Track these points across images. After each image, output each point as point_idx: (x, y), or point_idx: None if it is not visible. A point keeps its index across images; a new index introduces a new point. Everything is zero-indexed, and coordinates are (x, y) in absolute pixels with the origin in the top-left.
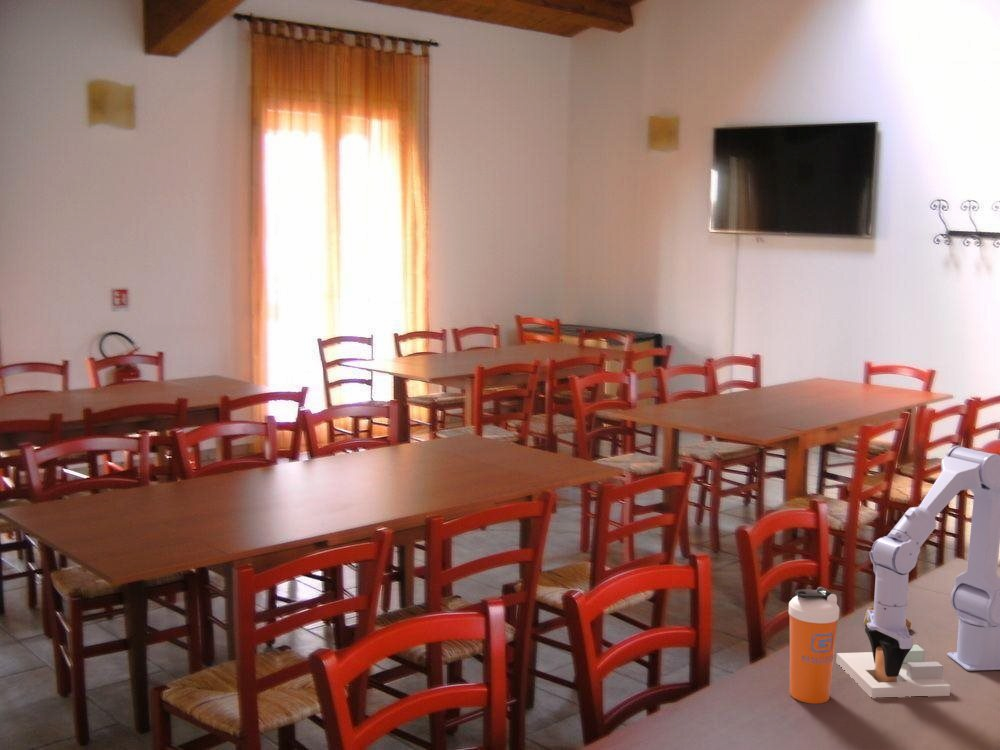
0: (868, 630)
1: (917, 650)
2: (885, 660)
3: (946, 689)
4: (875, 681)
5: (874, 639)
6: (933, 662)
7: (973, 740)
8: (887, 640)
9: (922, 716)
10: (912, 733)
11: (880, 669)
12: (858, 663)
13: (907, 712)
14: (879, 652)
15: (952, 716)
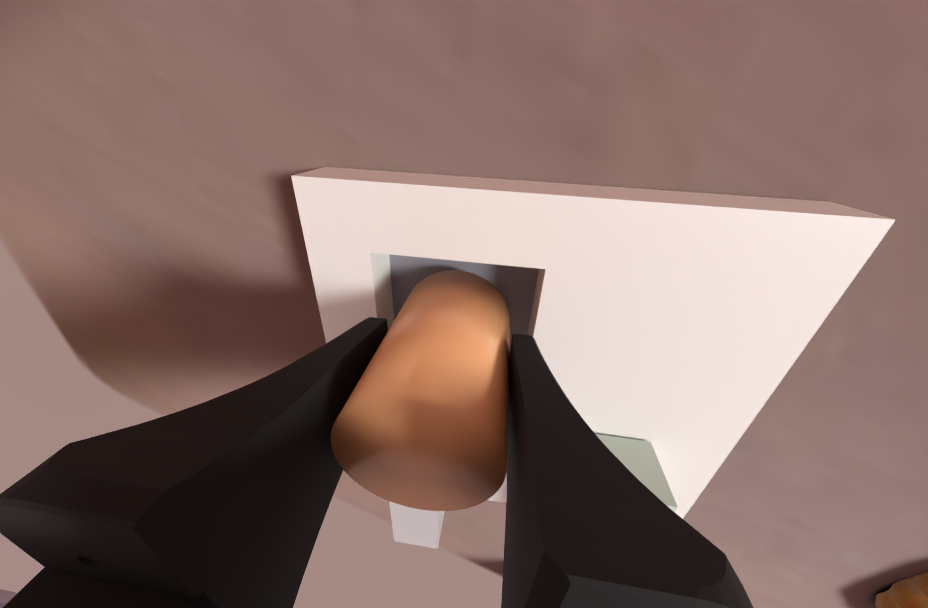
0: (608, 597)
1: None
2: (309, 366)
3: None
4: (383, 244)
5: (523, 491)
6: (431, 536)
7: (72, 344)
8: (139, 573)
9: (192, 292)
10: (14, 172)
11: (407, 315)
12: (649, 279)
13: (211, 257)
14: (378, 392)
15: (222, 378)
